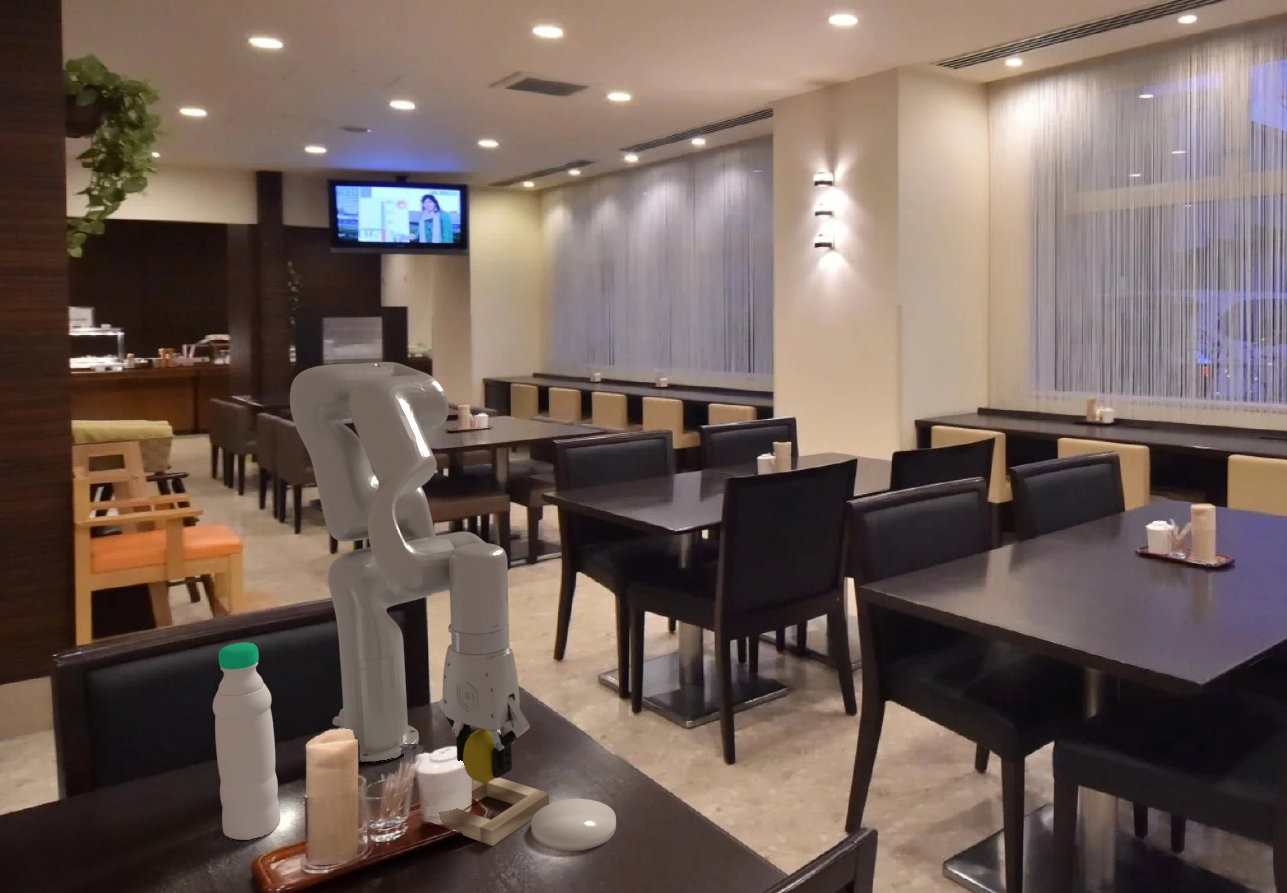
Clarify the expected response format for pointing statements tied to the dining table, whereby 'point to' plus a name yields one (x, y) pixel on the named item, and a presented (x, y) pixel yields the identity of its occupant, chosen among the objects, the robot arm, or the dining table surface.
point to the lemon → (479, 756)
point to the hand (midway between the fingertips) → (484, 766)
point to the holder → (504, 823)
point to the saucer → (573, 824)
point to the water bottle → (245, 746)
